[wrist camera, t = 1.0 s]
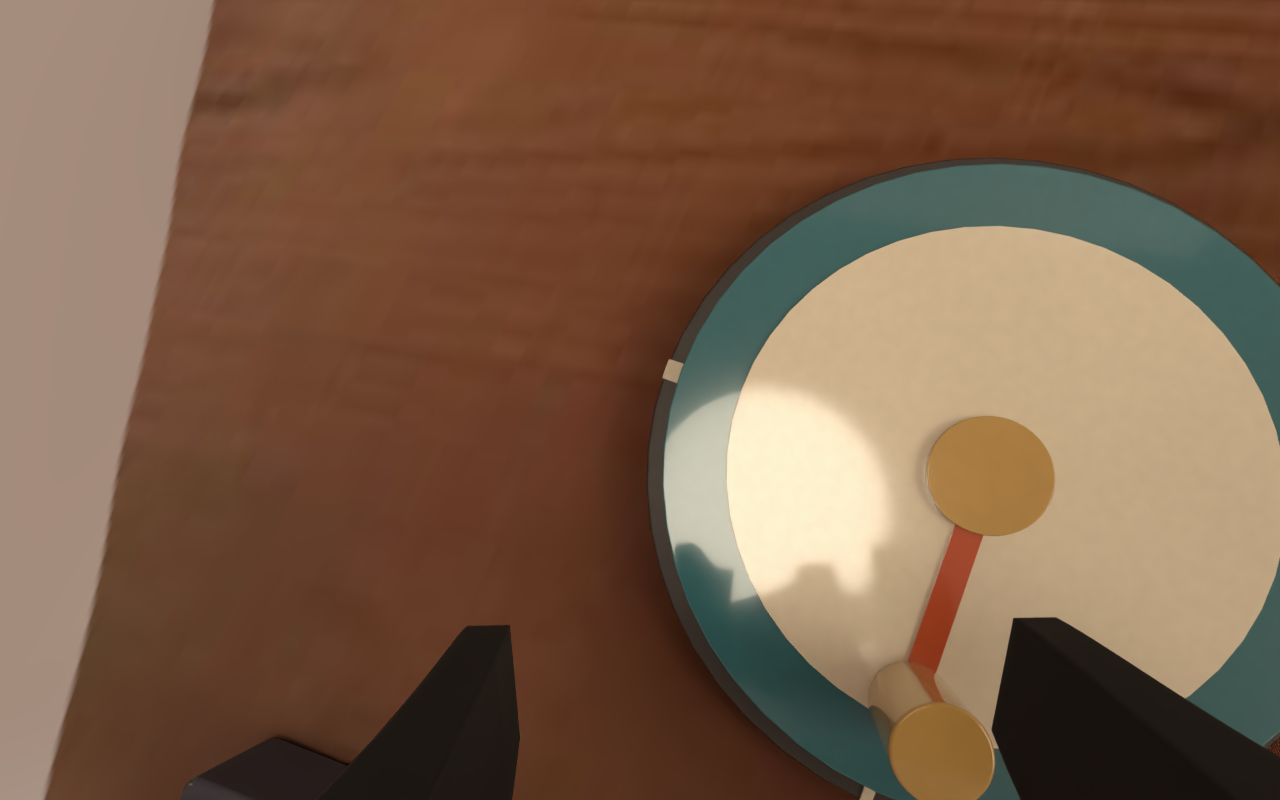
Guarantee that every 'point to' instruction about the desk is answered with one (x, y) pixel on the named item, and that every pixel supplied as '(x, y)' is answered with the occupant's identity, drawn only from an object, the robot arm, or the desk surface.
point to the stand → (655, 459)
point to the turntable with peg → (980, 464)
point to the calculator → (266, 775)
